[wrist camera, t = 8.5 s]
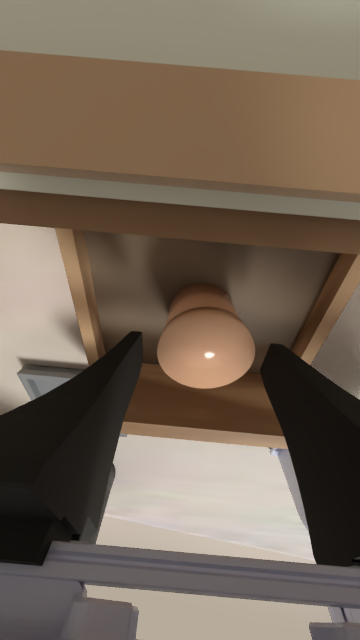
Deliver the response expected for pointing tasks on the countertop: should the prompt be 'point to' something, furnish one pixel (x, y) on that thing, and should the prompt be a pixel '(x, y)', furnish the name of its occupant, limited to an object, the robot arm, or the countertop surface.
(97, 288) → the cold frame
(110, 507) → the countertop surface
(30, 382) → the tray
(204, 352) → the pot
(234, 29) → the lid
